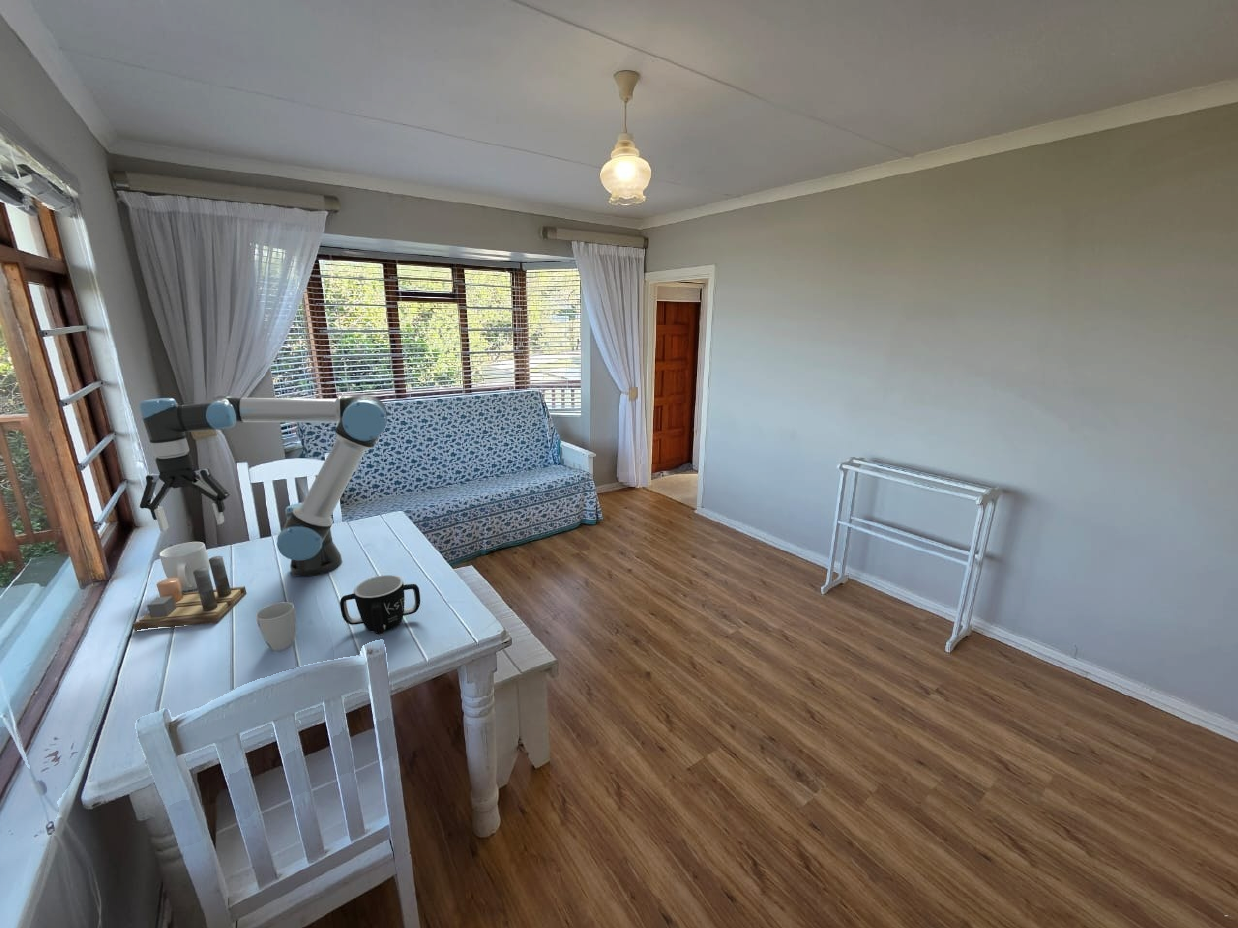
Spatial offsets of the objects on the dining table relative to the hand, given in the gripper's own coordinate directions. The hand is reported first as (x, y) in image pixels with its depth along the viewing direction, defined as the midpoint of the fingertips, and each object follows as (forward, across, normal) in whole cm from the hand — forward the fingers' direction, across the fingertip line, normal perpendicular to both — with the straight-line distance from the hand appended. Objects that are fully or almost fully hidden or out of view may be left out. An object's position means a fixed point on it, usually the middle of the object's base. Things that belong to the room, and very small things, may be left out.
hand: (193, 526), depth 143 cm
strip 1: (+23, +4, +8) cm, 25 cm away
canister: (+22, +10, 0) cm, 24 cm away
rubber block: (+22, +9, +8) cm, 25 cm away
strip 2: (+24, +3, +1) cm, 24 cm away
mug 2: (+26, -50, +29) cm, 64 cm away
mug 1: (+25, +11, -12) cm, 30 cm away
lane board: (+24, +3, +4) cm, 25 cm away
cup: (+25, -26, +30) cm, 48 cm away
